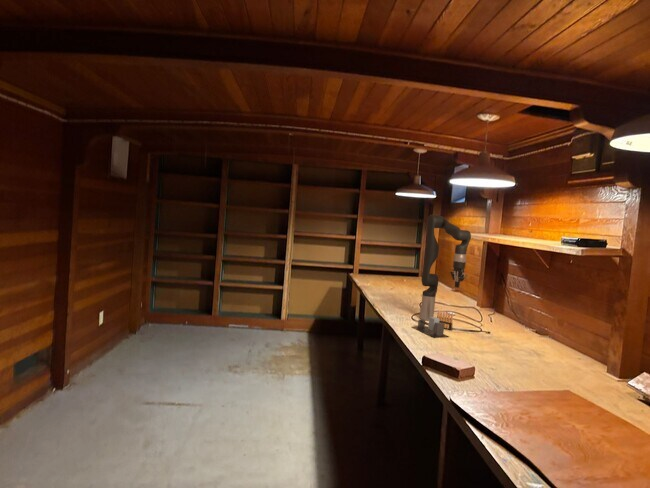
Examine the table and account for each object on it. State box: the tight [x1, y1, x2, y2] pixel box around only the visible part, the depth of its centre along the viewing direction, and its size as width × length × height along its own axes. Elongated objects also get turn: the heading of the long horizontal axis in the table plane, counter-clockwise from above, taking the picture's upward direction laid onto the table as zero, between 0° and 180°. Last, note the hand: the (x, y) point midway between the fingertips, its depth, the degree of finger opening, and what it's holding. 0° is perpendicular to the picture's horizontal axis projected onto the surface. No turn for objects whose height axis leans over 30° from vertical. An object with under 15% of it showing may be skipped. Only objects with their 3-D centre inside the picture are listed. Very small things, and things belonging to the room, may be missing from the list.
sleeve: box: [427, 316, 440, 331], centre depth 252 cm, size 5×4×8 cm
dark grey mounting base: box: [411, 319, 450, 339], centre depth 255 cm, size 23×12×8 cm, turn 23°
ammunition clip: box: [436, 309, 454, 332], centre depth 266 cm, size 11×2×12 cm, turn 58°
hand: (456, 287), depth 260 cm, fingers closed
